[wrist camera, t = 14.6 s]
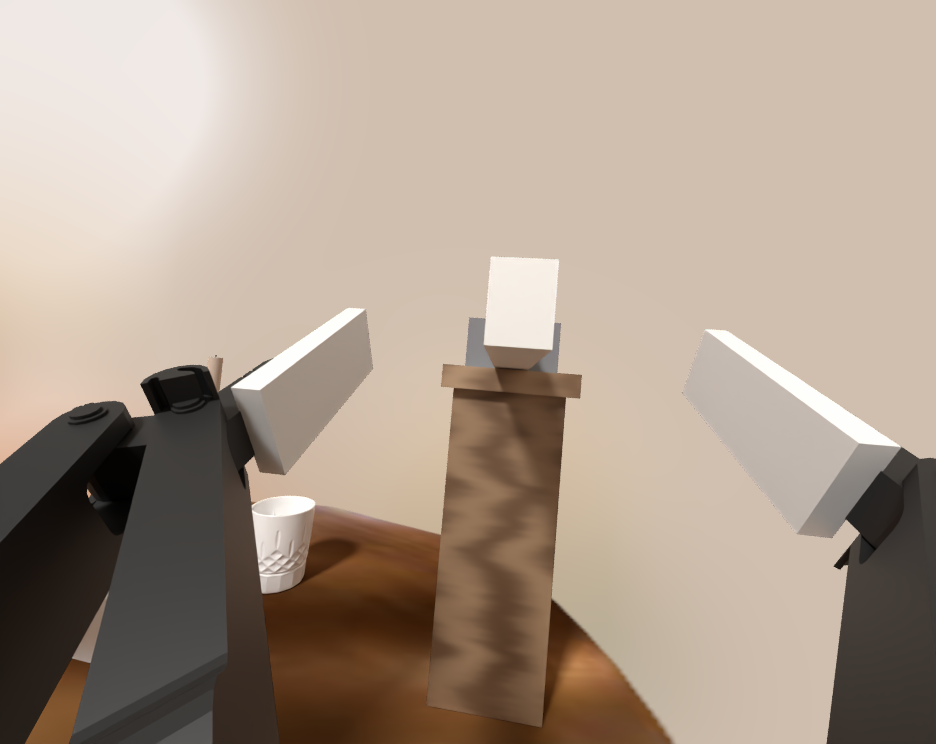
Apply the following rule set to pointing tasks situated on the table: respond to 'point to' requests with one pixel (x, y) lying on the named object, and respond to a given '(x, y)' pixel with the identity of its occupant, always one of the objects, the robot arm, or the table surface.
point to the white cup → (282, 540)
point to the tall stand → (498, 541)
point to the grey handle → (517, 317)
